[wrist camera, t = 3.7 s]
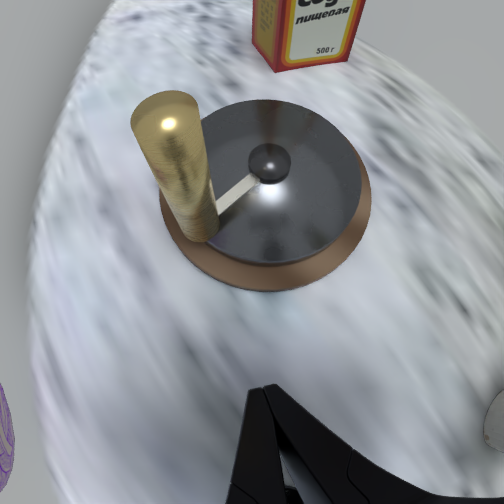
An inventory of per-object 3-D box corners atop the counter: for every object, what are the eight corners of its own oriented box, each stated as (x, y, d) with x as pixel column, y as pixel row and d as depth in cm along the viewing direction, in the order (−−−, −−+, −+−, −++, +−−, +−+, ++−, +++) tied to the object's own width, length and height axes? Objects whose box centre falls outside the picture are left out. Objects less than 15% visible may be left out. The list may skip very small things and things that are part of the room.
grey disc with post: (266, 90, 27) (275, -26, 15) (386, 185, 24) (462, 81, 12) (135, 184, 24) (70, 69, 12) (258, 316, 21) (276, 273, 9)
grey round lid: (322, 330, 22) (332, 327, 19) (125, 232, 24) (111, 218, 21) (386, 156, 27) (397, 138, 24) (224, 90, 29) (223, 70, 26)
